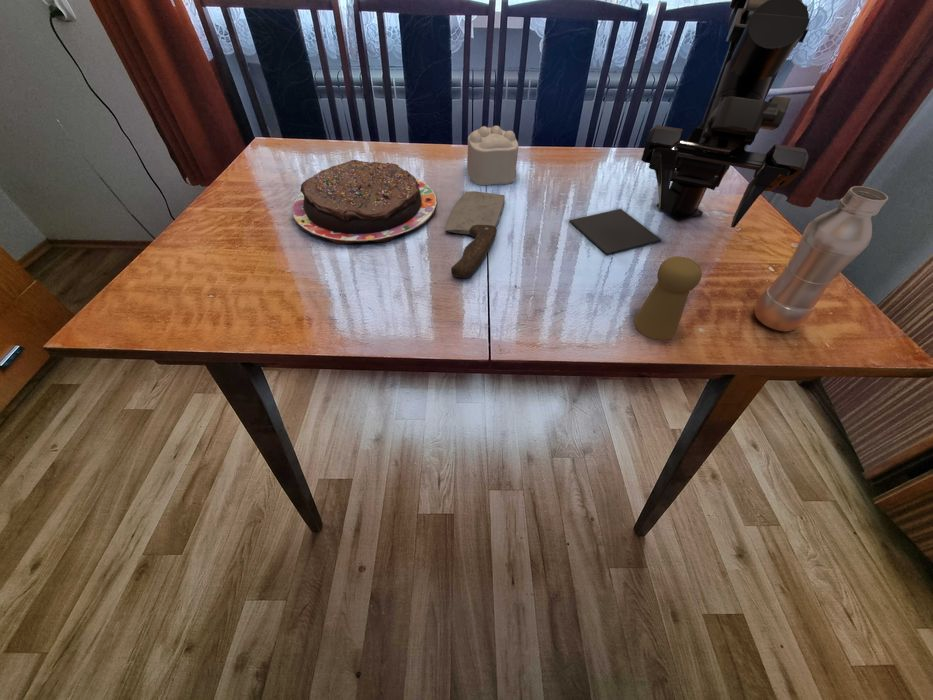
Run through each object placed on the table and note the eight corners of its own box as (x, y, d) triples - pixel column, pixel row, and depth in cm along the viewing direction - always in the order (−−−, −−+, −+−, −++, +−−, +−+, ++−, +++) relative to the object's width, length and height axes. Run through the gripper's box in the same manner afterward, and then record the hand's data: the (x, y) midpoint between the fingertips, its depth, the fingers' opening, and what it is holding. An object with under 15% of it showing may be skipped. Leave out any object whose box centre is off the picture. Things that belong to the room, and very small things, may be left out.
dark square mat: (620, 210, 84) (620, 208, 84) (660, 241, 77) (661, 239, 76) (569, 221, 81) (569, 220, 81) (606, 255, 73) (606, 253, 73)
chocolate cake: (465, 204, 85) (465, 172, 80) (358, 266, 70) (351, 232, 65) (372, 164, 97) (368, 134, 92) (264, 211, 82) (252, 178, 77)
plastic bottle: (796, 343, 59) (907, 213, 45) (745, 325, 62) (834, 197, 47) (799, 317, 63) (903, 190, 48) (750, 301, 65) (835, 175, 51)
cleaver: (483, 283, 67) (483, 272, 66) (424, 275, 68) (423, 264, 67) (506, 198, 87) (507, 188, 86) (460, 193, 88) (460, 183, 87)
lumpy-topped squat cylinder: (472, 185, 90) (473, 144, 84) (463, 160, 99) (463, 121, 93) (519, 183, 92) (523, 141, 85) (506, 158, 100) (509, 119, 94)
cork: (676, 316, 63) (708, 254, 55) (676, 344, 59) (711, 281, 51) (635, 307, 64) (660, 245, 56) (632, 334, 60) (659, 271, 52)
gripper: (675, 52, 50) (631, 181, 51) (857, 72, 45) (804, 215, 46) (659, 105, 60) (624, 210, 62) (805, 126, 55) (763, 241, 57)
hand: (696, 218), depth 56 cm, fingers open, 9 cm apart
